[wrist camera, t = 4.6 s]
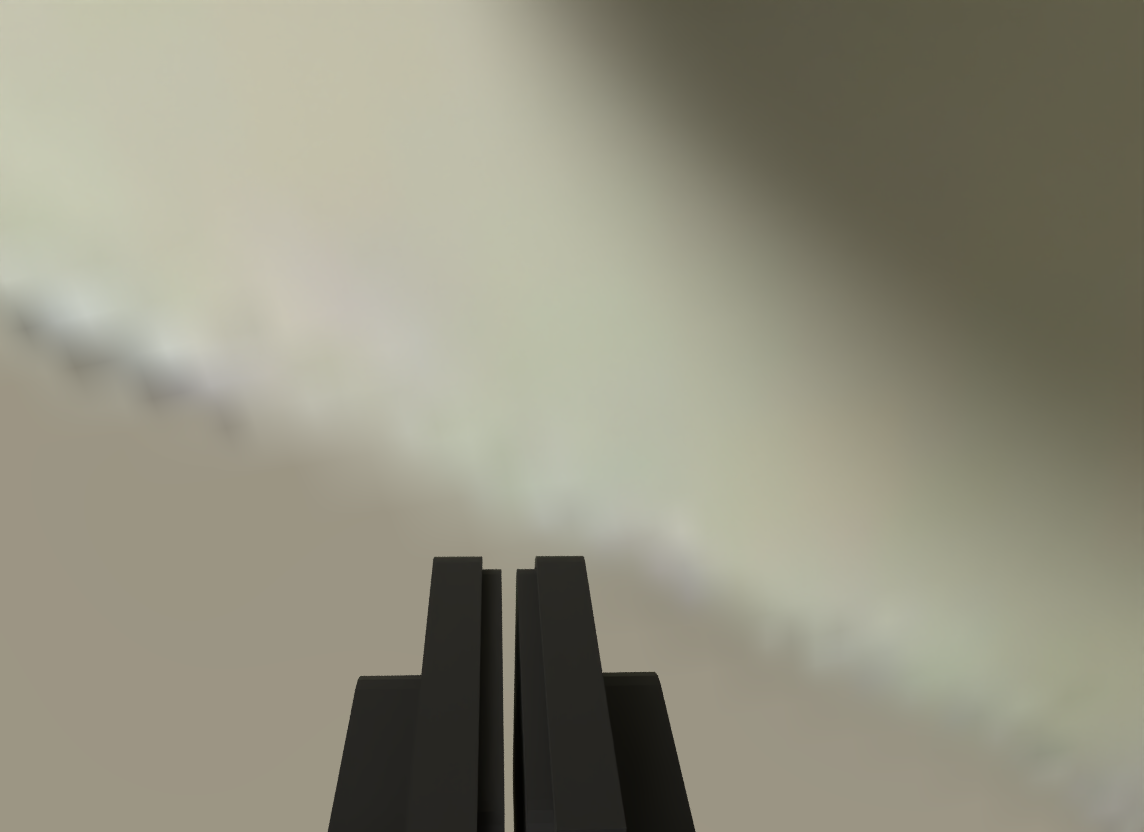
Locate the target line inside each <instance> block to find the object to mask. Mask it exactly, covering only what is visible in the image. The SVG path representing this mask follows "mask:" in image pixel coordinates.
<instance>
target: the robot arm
mask: <svg viewBox="0 0 1144 832" xmlns="http://www.w3.org/2000/svg"><path fill="white" fill-rule="evenodd" d="M423 656H424V657H423V666H422V675H408V676H407V675H406V676H360V677H359V679H358V682H357V685H356V689H355V694H354V700H353V705H352V709H351V715H350V720H349V725H348V730H347V735H346V741H345V746H344V751H343V756H342V761H341V767H340V772H339V777H338V782H337V787H336V792H335V797H334V802H333V807H332V813H331V818H330V823H329V828H328V832H504V742H503V741H504V739H503V659H502V582H501V569H486V570H482V557H434V559H433V568H432V578H431V587H430V597H429V607H428V616H427V627H426V636H425V645H424V655H423ZM514 680H515V681H514V682H515V683H514V735H513V737H514V738H513V804H514V832H695V828H694V824H693V820H692V816H691V811H690V807H689V803H688V799H687V794H686V790H685V786H684V781H683V777H682V773H681V769H680V765H679V760H678V756H677V752H676V747H675V744H674V739H673V735H672V731H671V727H670V722H669V718H668V714H667V710H666V705H665V701H664V697H663V692H662V688H661V684H660V681H659V678H658V675H657V674H656V673H655V672H619V673H602V668H601V661H600V655H599V648H598V642H597V635H596V629H595V623H594V616H593V610H592V603H591V597H590V591H589V584H588V578H587V571H586V565H585V560H584V557H583V556H536V558H535V569H517V574H516V625H515V679H514Z"/></svg>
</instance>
